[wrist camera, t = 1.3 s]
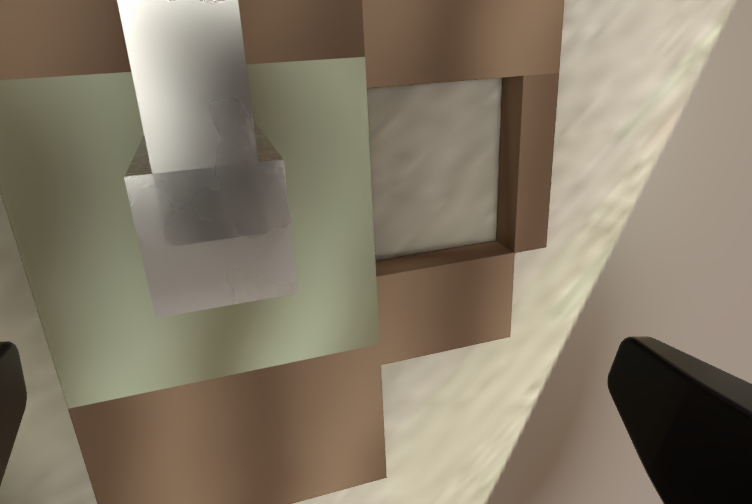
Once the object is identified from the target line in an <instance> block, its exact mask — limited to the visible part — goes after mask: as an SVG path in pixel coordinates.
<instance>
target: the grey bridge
mask: <svg viewBox="0 0 752 504" xmlns="http://www.w3.org/2000/svg"><path fill="white" fill-rule="evenodd" d="M117 2H118V7H119V12H120V17H121V22H122V27H123V32H124V37H125V42H126V47H127V52H128V57H129V62H130V67H131V72H132V77H133V81H134V86H135V91H136V96H137V101H138V106H139V111H140V116H141V121H142V126H143V131H144V136H143V138H142V140H141V142H140V144H139V146H138V148H137V150H136V153H135V155H134V157H133V159H132V161H131V163H130V165H129V167H128V169H127V172H126V174H125V176H124V180H125V184H126V189H127V193H128V197H129V202H130V206H131V211H132V215H133V220H134V224H135V229H136V233H137V238H138V242H139V247H140V251H141V256H142V260H143V265H144V269H145V274H146V278H147V283H148V287H149V292H150V296H151V301H152V305H153V310H154V314H155V318H160V317H165V316H171V315H177V314H182V313H188V312H194V311H200V310H205V309H211V308H217V307H222V306H228V305H234V304H240V303H245V302H251V301H257V300H262V299H268V298H274V297H280V296H285V295H291V294H297V293H298V284H297V275H296V266H295V257H294V248H293V239H292V230H291V221H290V212H289V203H288V194H287V185H286V176H285V167H284V159H283V158H282V156H281V155H280V154H279V153H278V151H277V150H276V149H275V147H274V146H273V145H272V144H271V142H270V141H269V140H268V138H267V137H266V136H265V134H264V133H263V132H262V131H261V129H260V128H259V127H258V125H257V124H256V123H255V122H254V120H253V114H252V106H251V98H250V91H249V83H248V75H247V67H246V59H245V51H244V44H243V36H242V28H241V20H240V12H239V5H238V0H117Z"/></svg>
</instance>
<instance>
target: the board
mask: <svg viewBox="0 0 752 504" xmlns="http://www.w3.org/2000/svg"><path fill="white" fill-rule="evenodd" d="M238 5H239V12H240V20H241V28H242V36H243V44H244V51H245V59H246V67H247V75H248V83H249V91H250V98H251V106H252V114H253V120H254V122H255V123H256V124H257V125H258V127H259V128H260V129H261V131H262V132H263V133H264V134H265V136H266V137H267V138H268V140H269V141H270V142H271V144H272V145H273V146H274V147H275V149H276V150H277V151H278V153H279V154H280V155H281V156H282V158H283V159H284V167H285V176H286V185H287V194H288V203H289V212H290V221H291V230H292V239H293V248H294V257H295V266H296V275H297V284H298V293H297V294H291V295H285V296H280V297H274V298H268V299H262V300H257V301H251V302H245V303H240V304H234V305H228V306H222V307H217V308H211V309H205V310H200V311H194V312H188V313H182V314H177V315H171V316H165V317H160V318H155V314H154V310H153V305H152V301H151V296H150V292H149V287H148V283H147V278H146V274H145V269H144V265H143V260H142V256H141V251H140V247H139V242H138V238H137V233H136V229H135V224H134V220H133V215H132V211H131V206H130V202H129V197H128V193H127V189H126V184H125V180H124V176H125V174H126V172H127V169H128V167H129V165H130V163H131V161H132V159H133V157H134V155H135V153H136V150H137V148H138V146H139V144H140V142H141V140H142V138H143V136H144V131H143V126H142V121H141V116H140V111H139V106H138V101H137V96H136V91H135V86H134V81H133V77H132V72H131V67H130V62H129V57H128V52H127V47H126V42H125V37H124V32H123V27H122V22H121V17H120V12H119V7H118V2H117V0H0V192H1V195H2V198H3V202H4V205H5V208H6V211H7V214H8V218H9V221H10V224H11V227H12V231H13V234H14V237H15V240H16V243H17V247H18V250H19V253H20V256H21V259H22V263H23V266H24V269H25V272H26V275H27V279H28V282H29V285H30V288H31V292H32V295H33V298H34V301H35V304H36V308H37V311H38V314H39V317H40V320H41V324H42V327H43V330H44V333H45V336H46V340H47V343H48V346H49V349H50V352H51V356H52V359H53V362H54V365H55V369H56V372H57V375H58V378H59V381H60V385H61V388H62V391H63V394H64V397H65V401H66V404H67V407H68V410H69V413H70V417H71V420H72V423H73V426H74V430H75V433H76V436H77V439H78V442H79V446H80V449H81V452H82V455H83V458H84V462H85V465H86V468H87V471H88V474H89V478H90V481H91V484H92V487H93V491H94V494H95V497H96V500H97V503H98V504H292V503H296V502H300V501H303V500H307V499H311V498H314V497H318V496H321V495H325V494H329V493H332V492H336V491H340V490H343V489H347V488H351V487H354V486H358V485H362V484H365V483H369V482H372V481H376V480H380V479H383V478H387V477H386V457H385V438H384V418H383V399H382V379H381V365H383V364H388V363H392V362H397V361H402V360H406V359H411V358H415V357H420V356H425V355H429V354H434V353H438V352H443V351H448V350H452V349H457V348H461V347H466V346H470V345H475V344H480V343H484V342H489V341H493V340H498V339H503V338H507V337H510V332H511V312H512V293H513V273H514V253H516V252H522V251H528V250H533V249H539V248H545V247H546V243H547V229H548V216H549V202H550V189H551V175H552V162H553V148H554V135H555V121H556V107H557V94H558V80H559V67H560V53H561V40H562V26H563V13H564V0H238ZM502 77H503V84H502V110H501V137H500V164H499V190H498V217H497V241H493V242H487V243H481V244H475V245H469V246H463V247H457V248H451V249H445V250H439V251H433V252H427V253H421V254H415V255H409V256H403V257H397V258H391V259H385V260H379V261H375V243H374V223H373V204H372V184H371V164H370V145H369V125H368V106H367V88H376V87H389V86H401V85H414V84H426V83H439V82H451V81H464V80H477V79H489V78H502Z"/></svg>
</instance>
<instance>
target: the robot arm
mask: <svg viewBox="0 0 752 504" xmlns="http://www.w3.org/2000/svg"><path fill="white" fill-rule="evenodd" d="M608 389H609V391H610V394H611V396H612V398H613V401H614V403H615V405H616V407H617V410H618V412H619V414H620V416H621V418H622V421H623V422H624V425H625V427H626V429H627V431H628V433H629V436H630V438H631V440H632V443H633V445H634V447H635V449H636V451H637V453H638V456H639V458H640V460H641V462H642V464H643V466H644V468H645V470H646V473H647V474H648V476H649V478H650V480H651V482H652V484H653V486H654V487H655V489H656V491H657V493H658V494H659V496H660V498H661V500H662V501H663V503H664V504H752V384H750V383H748V382H746V381H744V380H742V379H740V378H738V377H735V376H733V375H731V374H729V373H727V372H725V371H722V370H721V369H718V368H716V367H714V366H712V365H710V364H708V363H706V362H703V361H701V360H699V359H697V358H695V357H693V356H691V355H689V354H686V353H684V352H682V351H680V350H678V349H675V348H673V347H671V346H669V345H667V344H665V343H663V342H661V341H659V340H656V339H654V338H652V337H627V338H625V339H624V340H623V341H622V342H621V344H620V346H619V349H618V351H617V354H616V356H615V359H614V362H613V364H612V367H611V369H610V372H609V374H608ZM26 400H27V392H26V386H25V381H24V376H23V371H22V366H21V361H20V356H19V352H18V349H17V347H16V346H15V345H14V344H13V343H11V342H0V485H1V482H2V479H3V476H4V473H5V470H6V467H7V463H8V460H9V457H10V454H11V451H12V448H13V445H14V442H15V439H16V435H17V432H18V429H19V426H20V423H21V420H22V417H23V414H24V411H25V407H26Z"/></svg>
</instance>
